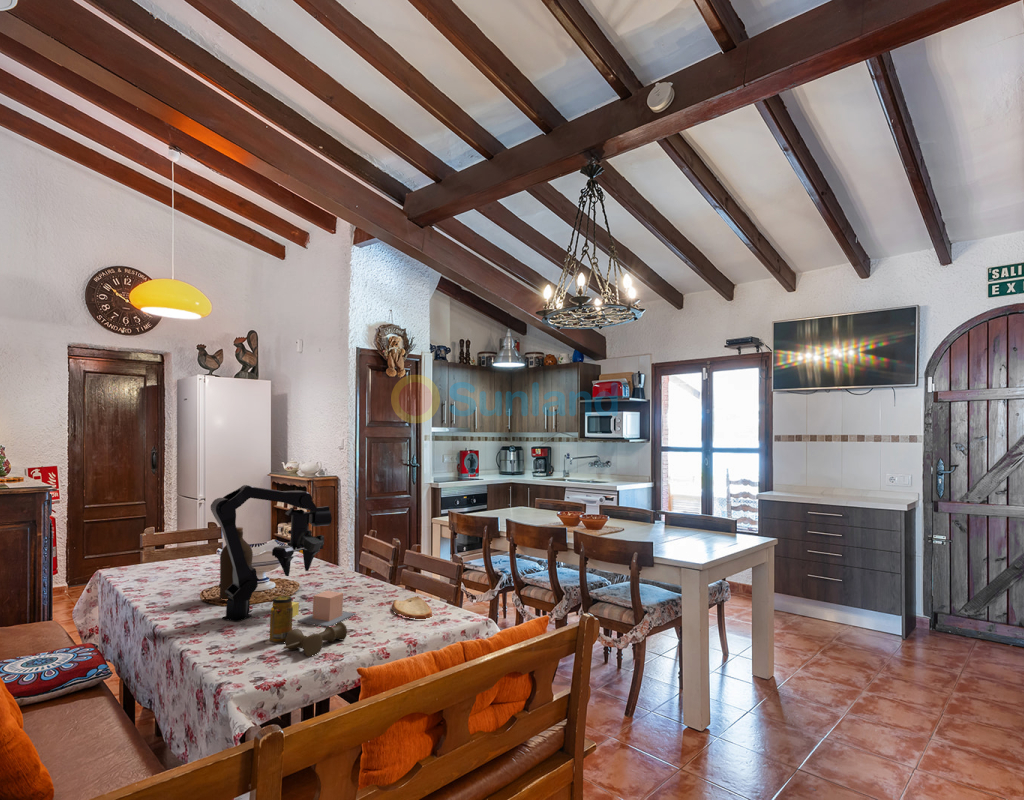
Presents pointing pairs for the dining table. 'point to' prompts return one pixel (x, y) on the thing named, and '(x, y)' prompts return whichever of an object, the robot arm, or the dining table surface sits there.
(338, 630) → the kendama
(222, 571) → the olive oil
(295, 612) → the yellow block
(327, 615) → the salmon cube
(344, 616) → the grey panel
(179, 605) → the dining table surface
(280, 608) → the condiment
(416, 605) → the slice of bread
